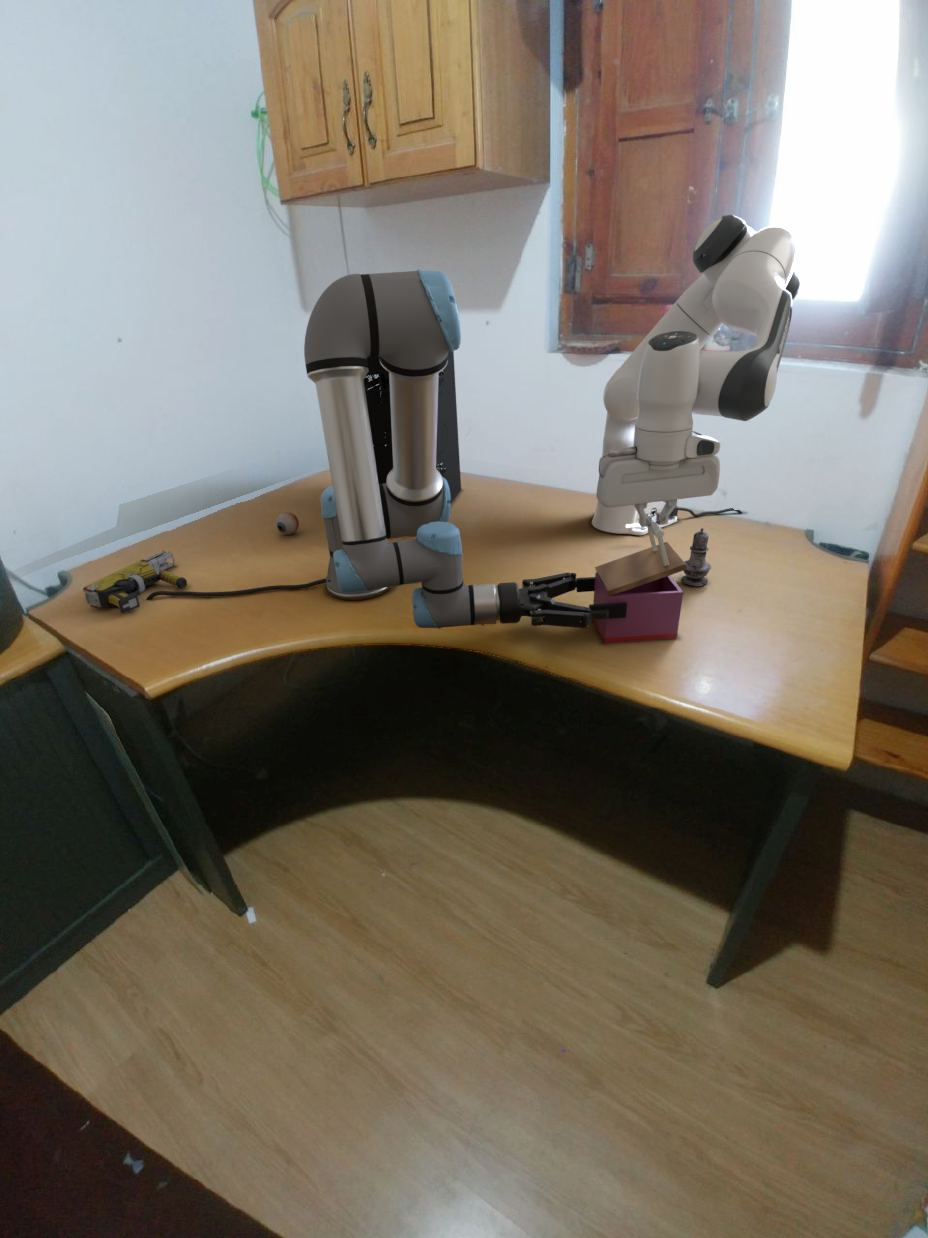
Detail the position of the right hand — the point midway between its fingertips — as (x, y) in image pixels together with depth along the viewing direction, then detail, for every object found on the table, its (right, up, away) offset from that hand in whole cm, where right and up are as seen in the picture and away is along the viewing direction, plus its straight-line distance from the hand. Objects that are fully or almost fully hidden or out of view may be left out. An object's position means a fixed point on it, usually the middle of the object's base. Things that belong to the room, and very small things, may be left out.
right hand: (653, 524), depth 104 cm
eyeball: (-81, +7, +61) cm, 101 cm away
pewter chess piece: (+17, -8, +25) cm, 31 cm away
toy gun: (-105, -10, +35) cm, 111 cm away
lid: (-1, -8, +4) cm, 9 cm away
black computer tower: (-48, +16, +73) cm, 89 cm away
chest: (-1, -18, +10) cm, 20 cm away
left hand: (-4, -12, +7) cm, 14 cm away
